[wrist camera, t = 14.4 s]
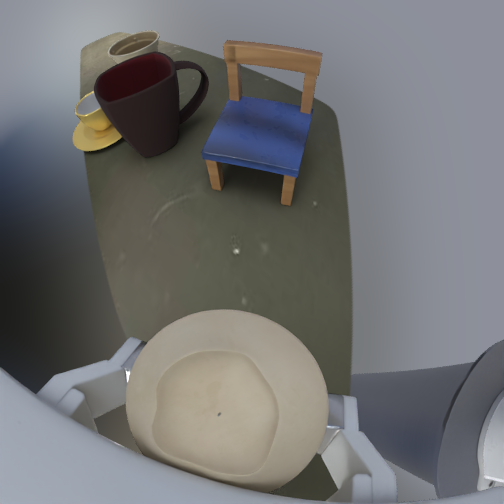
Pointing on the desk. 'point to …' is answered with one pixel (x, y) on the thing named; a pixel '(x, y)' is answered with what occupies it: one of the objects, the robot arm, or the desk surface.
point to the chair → (263, 117)
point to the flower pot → (134, 45)
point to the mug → (147, 100)
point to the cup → (93, 126)
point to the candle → (228, 400)
